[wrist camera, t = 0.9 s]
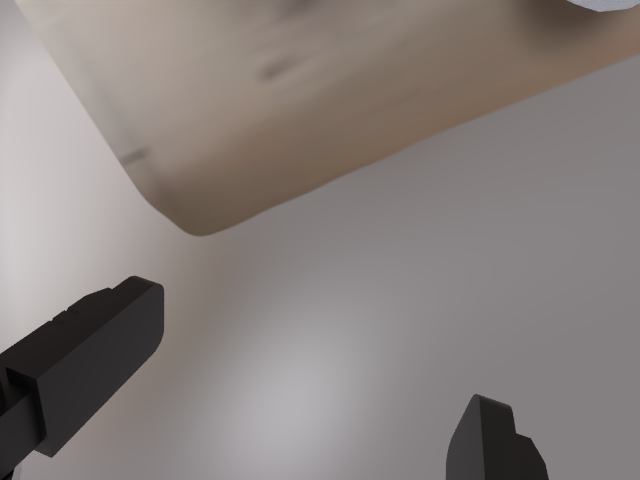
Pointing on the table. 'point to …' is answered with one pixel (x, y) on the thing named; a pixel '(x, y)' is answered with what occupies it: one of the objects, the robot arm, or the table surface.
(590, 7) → the white short cylinder
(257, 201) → the table surface
